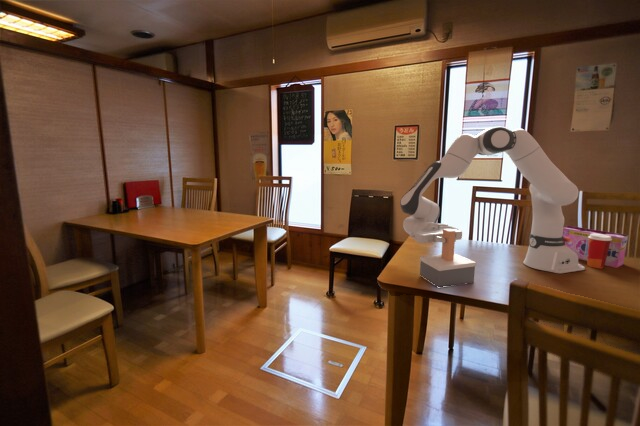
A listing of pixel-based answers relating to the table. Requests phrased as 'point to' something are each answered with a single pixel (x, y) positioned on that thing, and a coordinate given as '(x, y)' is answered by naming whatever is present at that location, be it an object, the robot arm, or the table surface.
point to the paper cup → (598, 250)
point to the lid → (447, 255)
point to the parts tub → (447, 275)
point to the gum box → (582, 240)
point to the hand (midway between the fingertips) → (450, 240)
